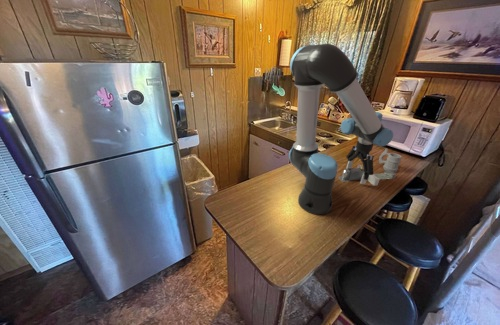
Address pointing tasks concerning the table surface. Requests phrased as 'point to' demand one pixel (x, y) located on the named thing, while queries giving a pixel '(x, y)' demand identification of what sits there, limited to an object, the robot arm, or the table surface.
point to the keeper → (386, 175)
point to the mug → (390, 160)
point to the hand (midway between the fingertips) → (355, 176)
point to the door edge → (371, 178)
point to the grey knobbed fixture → (344, 176)
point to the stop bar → (355, 173)
